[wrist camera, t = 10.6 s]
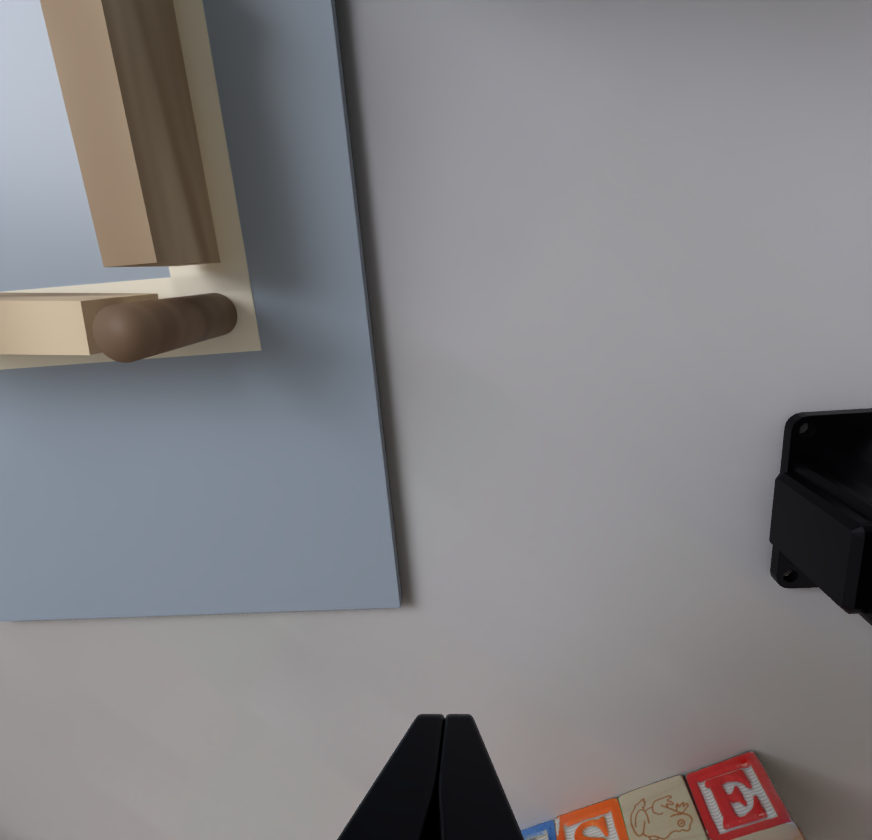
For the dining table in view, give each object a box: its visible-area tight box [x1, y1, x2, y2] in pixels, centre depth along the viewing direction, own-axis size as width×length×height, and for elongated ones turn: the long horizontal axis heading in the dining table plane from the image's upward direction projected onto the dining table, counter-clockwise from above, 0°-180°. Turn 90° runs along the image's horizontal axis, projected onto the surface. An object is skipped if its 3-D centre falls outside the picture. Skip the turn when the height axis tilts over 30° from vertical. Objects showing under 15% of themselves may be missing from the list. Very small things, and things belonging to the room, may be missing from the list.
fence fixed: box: [40, 0, 237, 363], centre depth 14 cm, size 1×12×6 cm, turn 5°
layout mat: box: [0, 0, 402, 621], centre depth 19 cm, size 17×23×1 cm
